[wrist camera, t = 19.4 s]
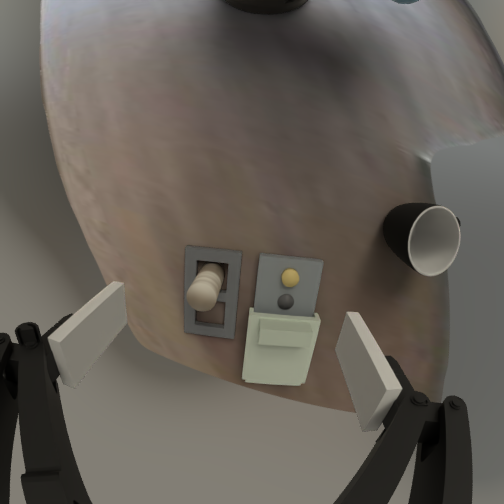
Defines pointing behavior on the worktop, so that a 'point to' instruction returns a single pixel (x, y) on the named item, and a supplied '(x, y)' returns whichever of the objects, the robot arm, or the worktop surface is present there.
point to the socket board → (224, 295)
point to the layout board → (287, 285)
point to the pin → (206, 287)
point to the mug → (423, 236)
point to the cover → (279, 348)
